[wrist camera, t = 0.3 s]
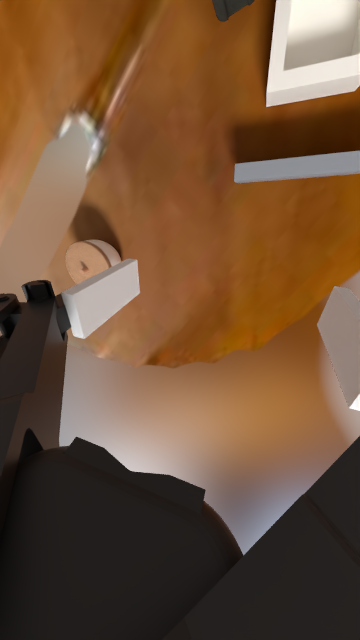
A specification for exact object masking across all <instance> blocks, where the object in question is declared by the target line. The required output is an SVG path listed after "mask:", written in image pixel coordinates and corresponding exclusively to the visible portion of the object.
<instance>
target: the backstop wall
mask: <svg viewBox="0 0 360 640" xmlns="http://www.w3.org/2000/svg"><path fill="white" fill-rule="evenodd" d="M359 173H360V151H350V152H341V153H332V154H323V155H313V156H304V157H295V158H285V159H276V160H267V161H257V162H248V163H239V164H235V175H234V182H236V183H248V182H261V181H273V180H286V179H298V178H311V177H324V176H336V175H349V174H359Z"/></svg>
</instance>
